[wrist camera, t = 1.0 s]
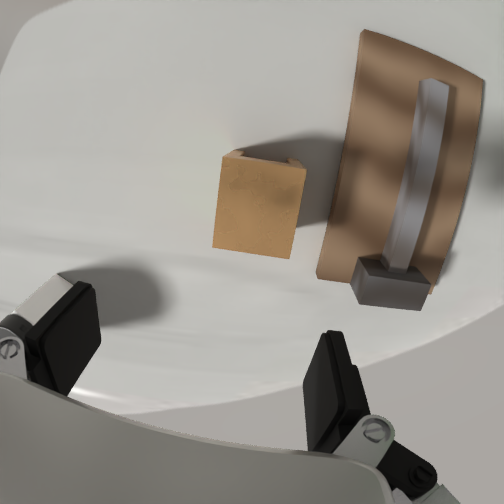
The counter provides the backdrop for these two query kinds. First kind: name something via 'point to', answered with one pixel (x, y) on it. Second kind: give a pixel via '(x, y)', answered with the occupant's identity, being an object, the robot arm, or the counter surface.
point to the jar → (33, 308)
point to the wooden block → (258, 205)
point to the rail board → (400, 173)
